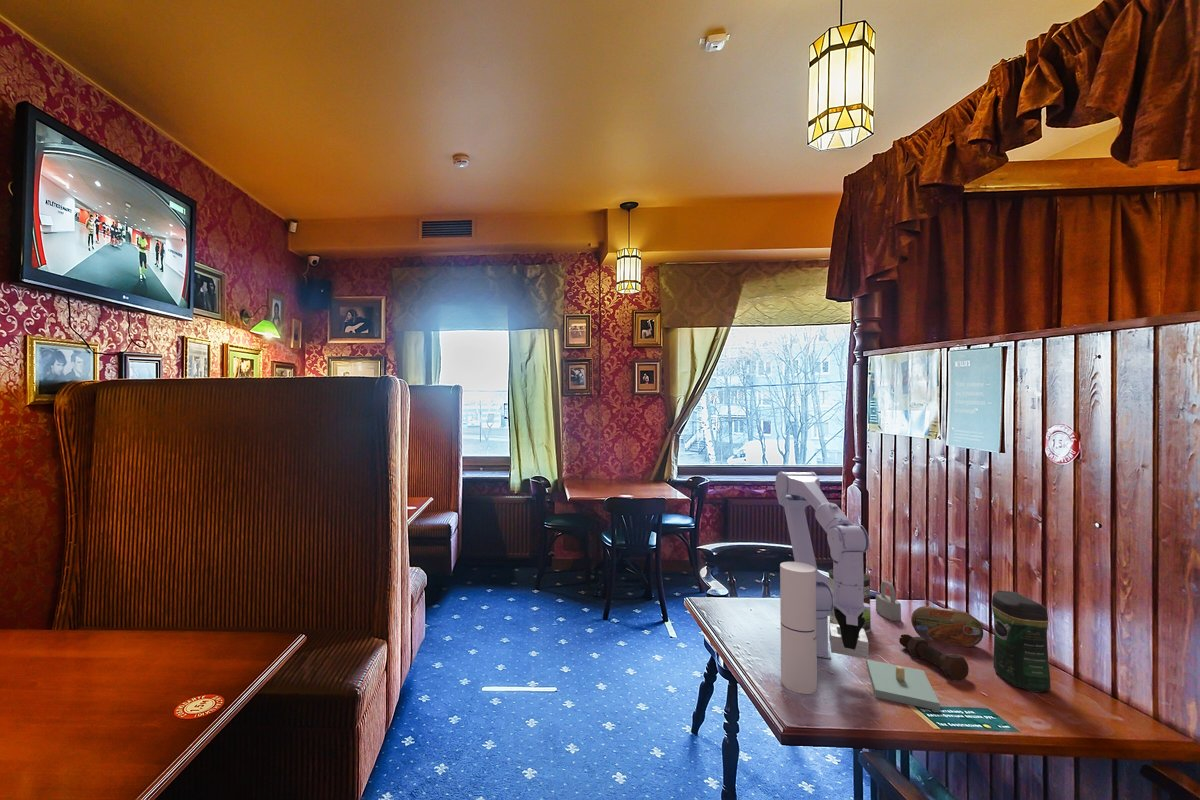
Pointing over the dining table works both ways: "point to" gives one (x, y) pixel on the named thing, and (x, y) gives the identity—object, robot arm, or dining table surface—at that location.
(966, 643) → the tin
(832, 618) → the coffee can
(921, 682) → the plate
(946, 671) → the bolt
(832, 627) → the grey boxy piece
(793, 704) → the dining table surface
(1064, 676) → the dining table surface
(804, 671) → the cylindrical container
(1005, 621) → the coffee jar
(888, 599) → the padlock
